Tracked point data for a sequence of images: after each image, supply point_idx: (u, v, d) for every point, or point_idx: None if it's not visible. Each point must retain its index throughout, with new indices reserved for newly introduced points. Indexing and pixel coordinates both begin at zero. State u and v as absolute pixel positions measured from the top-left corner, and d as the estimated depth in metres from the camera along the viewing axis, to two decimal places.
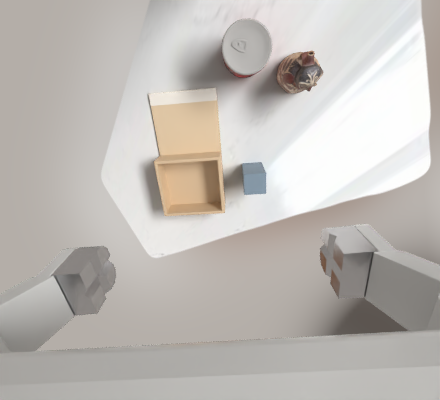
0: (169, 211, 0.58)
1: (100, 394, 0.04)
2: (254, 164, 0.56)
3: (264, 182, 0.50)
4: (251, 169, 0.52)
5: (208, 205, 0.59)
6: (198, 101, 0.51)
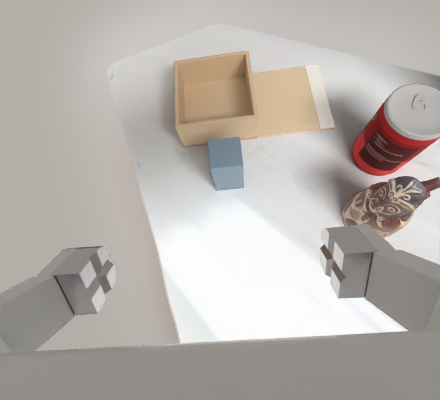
0: (179, 70, 0.44)
1: (100, 394, 0.04)
2: None
3: (227, 164, 0.33)
4: None
5: (183, 119, 0.43)
6: (315, 110, 0.43)
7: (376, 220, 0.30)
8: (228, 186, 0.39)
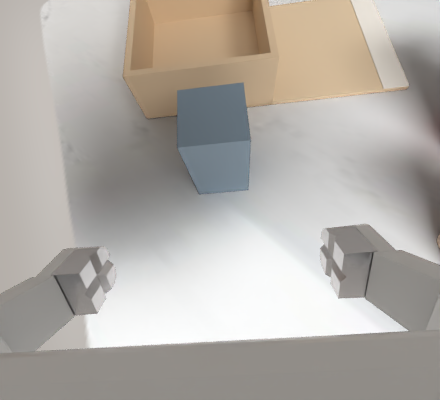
0: None
1: (100, 394, 0.04)
2: None
3: (217, 138, 0.15)
4: None
5: None
6: (372, 60, 0.25)
7: None
8: (220, 187, 0.21)
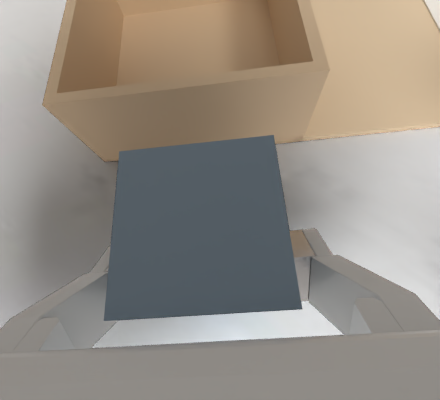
0: None
1: (100, 394, 0.04)
2: None
3: (210, 300, 0.06)
4: None
5: None
6: None
7: None
8: None
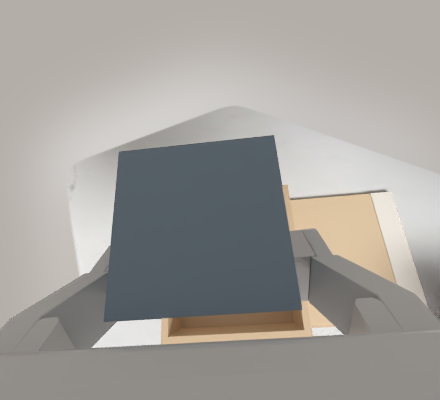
0: None
1: (100, 394, 0.04)
2: None
3: (210, 300, 0.06)
4: None
5: None
6: (395, 282, 0.26)
7: None
8: None
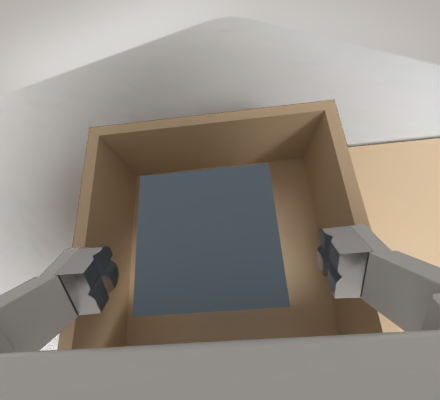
0: (108, 152, 0.14)
1: (100, 394, 0.04)
2: None
3: (218, 299, 0.07)
4: None
5: (113, 324, 0.13)
6: None
7: None
8: None
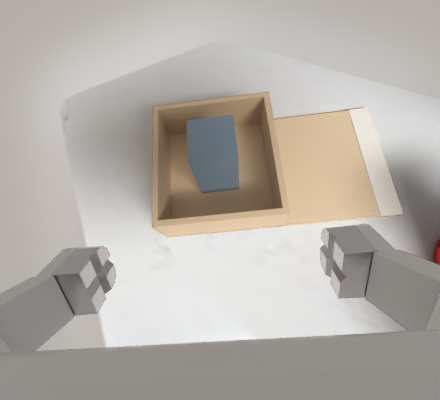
0: (161, 119, 0.29)
1: (100, 394, 0.04)
2: None
3: (215, 156, 0.22)
4: None
5: (167, 198, 0.28)
6: (370, 183, 0.28)
7: None
8: (218, 187, 0.28)
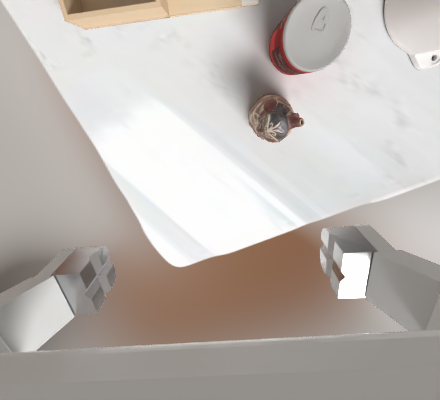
0: None
1: (100, 394, 0.04)
2: None
3: None
4: None
5: None
6: None
7: None
8: None
